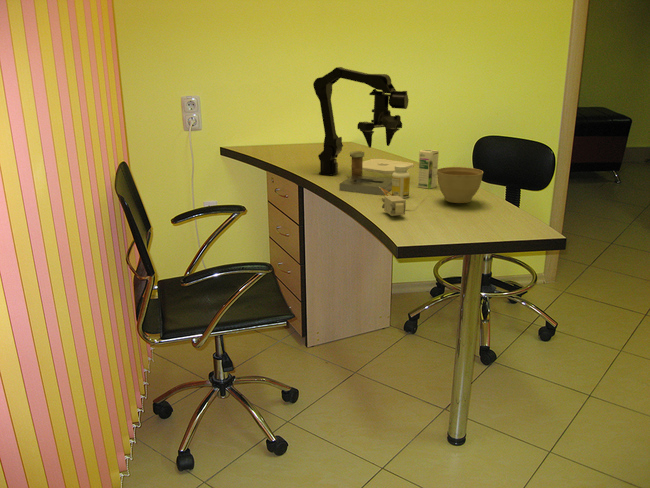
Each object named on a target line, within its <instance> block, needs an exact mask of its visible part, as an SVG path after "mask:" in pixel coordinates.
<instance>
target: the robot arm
mask: <svg viewBox="0 0 650 488" xmlns="http://www.w3.org/2000/svg"><path fill="white" fill-rule="evenodd" d="M340 79H343V80H347V81H353V82H357V83H361V84H365V85H367V86H368V87H371V88H373V89H372V90H371V92H369V94H368V95H369V96H374V99H373V100H374V101H373V108H372V109H371V113H373V116H372V117H373V118H372V119H371V122H369V121H359V122H358V123H357V130H359V131H360V132H361V133H362V134H363V136H364V139H365V141H366V144H367V146H368V148H369V149H370V148H372V142H373V135H374V133H375V131H374V130H375V129H376V128H377V129H378V128H385V140H386V141H385V143H386V146H388V147H389V146H390V145H391V143H392V140H393V137H394V135H395V134H396V132H398V131H399V130H400V129H402V128H403V123H402V122H403V121H402V119H401V116H400V115H399V114H397V115H396V114H394V115H391V113H392V112H391V110H389V106H390V108H392V109H399V110H400V109H401V110H407V108H408V107H409V100H410V99H409V95H408V91H407V90H402V91H401V90H396V88H395V86H394V85H393V83H392V79H391V76H390V75H389V74H387V73H386V74H385V73H384V74H383V73H367V72H362V71H358V70H354V69H350V68H349V69H348V68H344V67H342V66H337V67H335V68H333V69H332V70H331V71H329V72H328V73H326V74H324V75H323V76H321V77H318V78H315V79H314V80H313V85H312V86H313V89H314V93H315V95H316V97H317V99H318V101H319V104H320V105H319V106H320V110H321V111H320V112H321V118H322V124H323V130H324V139H323V149H322V151H321V152H320V153H319V154H318V156H317V157H318V160H319V161H320V162H319V163H320V167H319V172H318V174H319V175H326V176H327V175H328V176H334V175H337V174H338V173H339V167H338V165H339V163H338V161H337V160H338V159H337V158H338V156H339V154H341V152H342V150H343V147H344V145H343V138H342V136H338V134H337V130H336V125H335V117H334V111H333V105H332V94H333V85H334V84H335V83H337V82H338V81H339V80H340Z"/></svg>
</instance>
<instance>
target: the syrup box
mask: <svg viewBox="0 0 650 488" xmlns="http://www.w3.org/2000/svg"><path fill="white" fill-rule="evenodd" d="M439 152H440V151H439V150H434V149H420V150H419V153H418V176H417V179H418V180H417V188H422V189H428V190H430V189H433V188H436V187H437V185H438V178H437V170H438V169H439V168H438V167H439V165H438V164H439Z"/></svg>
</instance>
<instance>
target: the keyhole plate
mask: <svg viewBox="0 0 650 488" xmlns="http://www.w3.org/2000/svg"><path fill="white" fill-rule="evenodd" d="M338 185H339V187H338V188H339V191H341V192H349V193H356V194H357V193H358V194H367V195H379V196H386V194H387V195H388V193H387V192H389V193H390V192H391V191H392V177H391V178H390V177H379V176H365V175H362V176H355V175H353V176H349V177H348V178H347V179H345V180H343V181H342V182H340V183H339V184H338ZM379 187H380V188H379ZM381 188H382V189H384V190H386V191H387V192H386V191H384V190H383V191H384V192H385V193H386V194H385V193H384V192H383V191H382V190H381Z"/></svg>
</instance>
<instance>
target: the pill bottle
mask: <svg viewBox="0 0 650 488" xmlns="http://www.w3.org/2000/svg"><path fill="white" fill-rule="evenodd" d="M410 176H411V174H410V173H409V171H408V166H407V165H395V172H394V173H393V174H391V178H392V190H391V194H392V195H393V196H397V195H398V196H400V197H402V198H403V199H406V198H409V196H410Z"/></svg>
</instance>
